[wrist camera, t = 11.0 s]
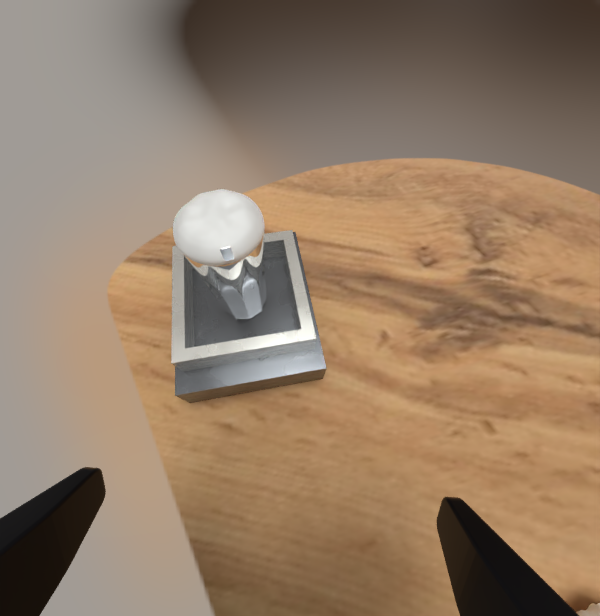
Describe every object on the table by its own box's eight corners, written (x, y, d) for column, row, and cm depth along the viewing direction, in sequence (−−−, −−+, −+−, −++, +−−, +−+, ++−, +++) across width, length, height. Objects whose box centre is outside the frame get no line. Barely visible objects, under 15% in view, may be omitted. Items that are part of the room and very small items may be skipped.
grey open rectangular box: (322, 378, 23) (329, 359, 18) (190, 402, 22) (162, 389, 17) (295, 253, 28) (295, 214, 23) (187, 268, 27) (166, 231, 22)
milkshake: (224, 346, 20) (167, 263, 12) (208, 284, 23) (150, 173, 14) (286, 327, 21) (278, 234, 12) (264, 268, 23) (245, 153, 14)
